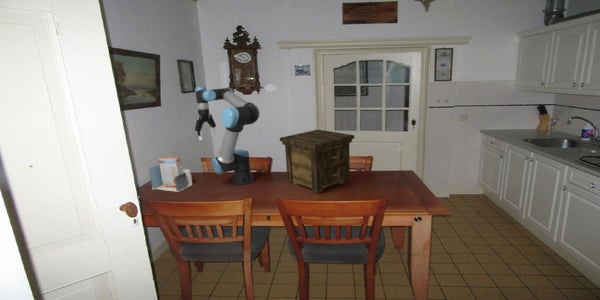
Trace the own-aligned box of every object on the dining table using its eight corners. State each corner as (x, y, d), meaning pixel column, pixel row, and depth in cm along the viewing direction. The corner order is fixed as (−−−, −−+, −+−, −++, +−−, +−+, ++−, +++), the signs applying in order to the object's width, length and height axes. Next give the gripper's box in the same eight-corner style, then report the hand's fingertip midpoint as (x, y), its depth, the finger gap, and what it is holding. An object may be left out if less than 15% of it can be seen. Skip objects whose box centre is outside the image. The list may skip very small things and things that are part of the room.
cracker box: (185, 185, 217) (180, 156, 212) (180, 188, 212) (175, 159, 206) (168, 184, 221) (164, 156, 216) (163, 187, 215) (158, 158, 210)
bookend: (187, 186, 214) (185, 172, 212) (178, 191, 206) (176, 177, 204) (186, 186, 215) (184, 172, 212) (176, 190, 207) (174, 177, 204)
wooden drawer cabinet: (319, 171, 234) (317, 129, 226) (354, 182, 208) (354, 135, 200) (282, 183, 213) (279, 137, 205) (317, 197, 187) (314, 145, 178)
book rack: (192, 186, 218) (189, 164, 214) (178, 193, 205) (174, 170, 201) (167, 183, 227) (163, 162, 223) (152, 189, 215) (147, 168, 211)
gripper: (210, 106, 229) (213, 134, 235) (186, 111, 207) (191, 141, 213) (218, 106, 227) (221, 134, 232) (195, 111, 204) (199, 142, 210)
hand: (207, 138), depth 222 cm, fingers open, 13 cm apart
